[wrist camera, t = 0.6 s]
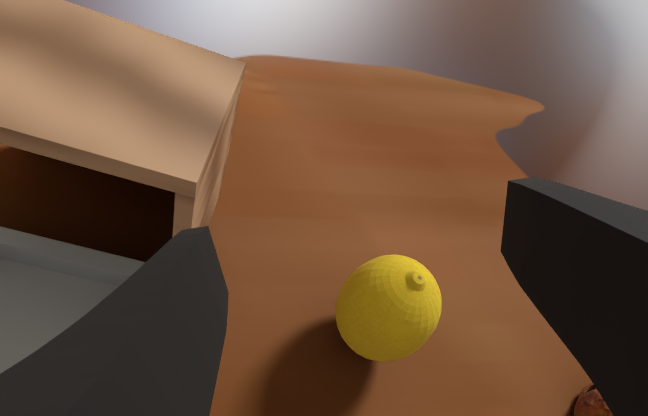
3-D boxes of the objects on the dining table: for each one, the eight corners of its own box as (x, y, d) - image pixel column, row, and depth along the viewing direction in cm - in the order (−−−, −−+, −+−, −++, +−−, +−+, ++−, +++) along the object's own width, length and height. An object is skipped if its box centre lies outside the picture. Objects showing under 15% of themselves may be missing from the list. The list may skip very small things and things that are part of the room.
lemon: (341, 391, 24) (403, 347, 18) (305, 305, 27) (350, 241, 21) (413, 359, 27) (488, 312, 21) (374, 284, 29) (432, 222, 23)
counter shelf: (182, 298, 24) (196, 182, 16) (-52, 243, 22) (-176, 76, 14) (220, 191, 30) (245, 62, 21) (35, 138, 28) (-17, -28, 19)
